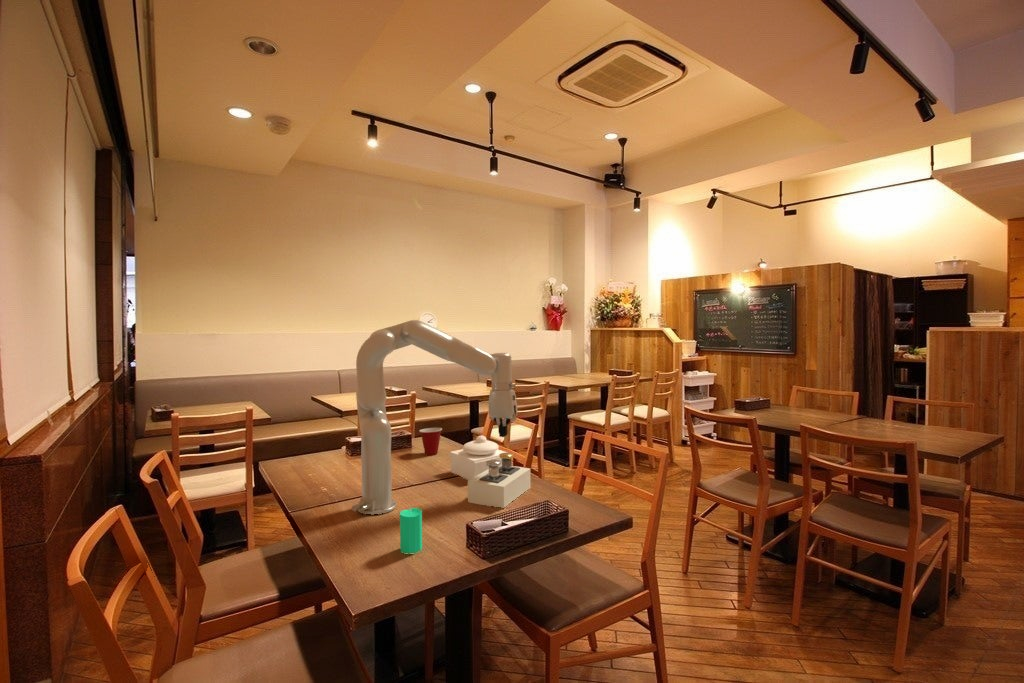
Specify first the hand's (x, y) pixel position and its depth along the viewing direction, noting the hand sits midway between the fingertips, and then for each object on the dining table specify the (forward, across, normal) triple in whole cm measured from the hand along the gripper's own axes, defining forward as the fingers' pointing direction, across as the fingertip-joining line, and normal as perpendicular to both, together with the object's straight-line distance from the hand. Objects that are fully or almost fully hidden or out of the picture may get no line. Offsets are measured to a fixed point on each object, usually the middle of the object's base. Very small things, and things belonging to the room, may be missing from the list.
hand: (503, 436), depth 177 cm
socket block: (+20, -1, +5) cm, 21 cm away
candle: (+20, +3, +52) cm, 56 cm away
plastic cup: (+20, +54, -30) cm, 65 cm away
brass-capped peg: (+15, -1, 0) cm, 15 cm away
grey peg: (+15, -1, +10) cm, 18 cm away
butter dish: (+21, +18, -14) cm, 31 cm away
